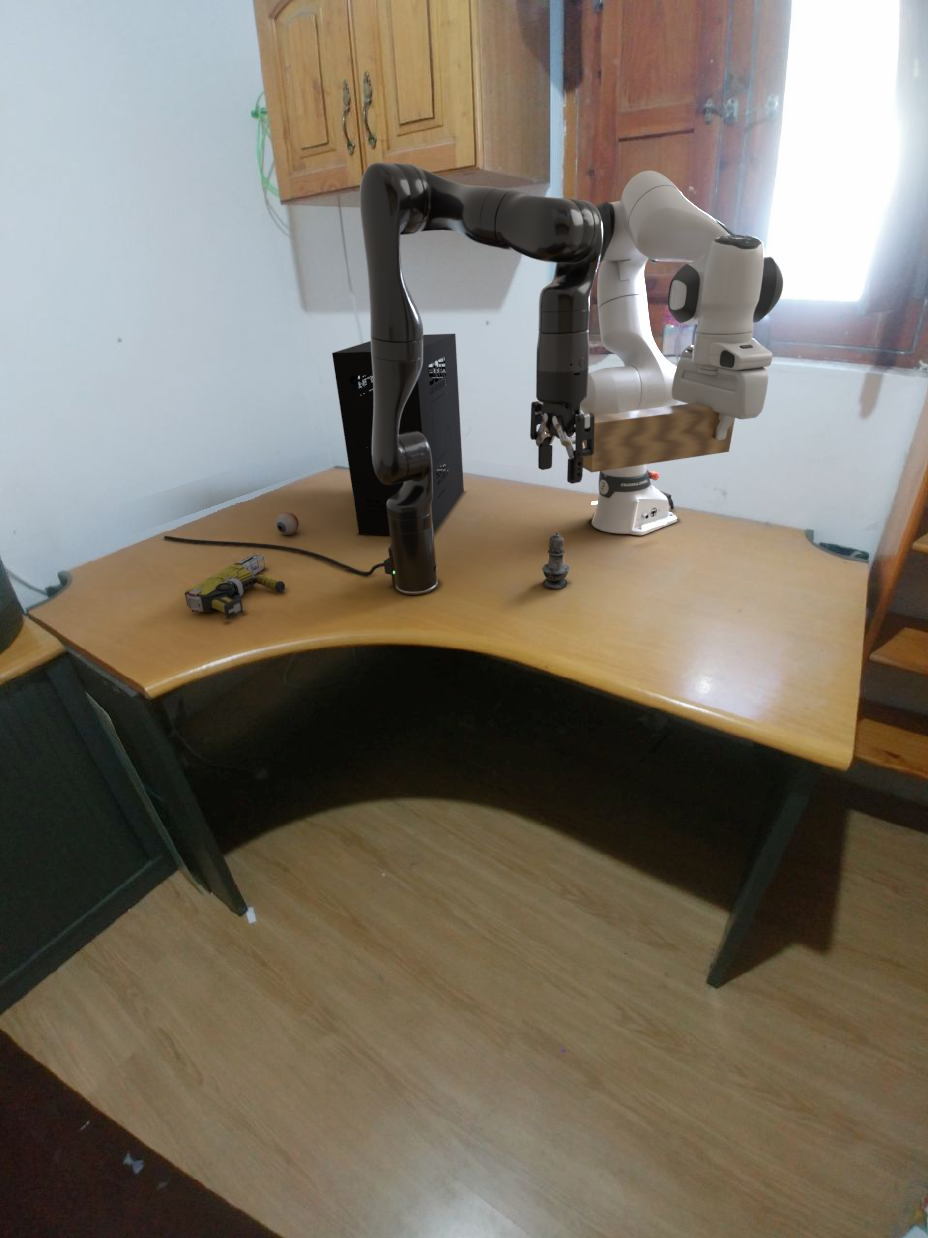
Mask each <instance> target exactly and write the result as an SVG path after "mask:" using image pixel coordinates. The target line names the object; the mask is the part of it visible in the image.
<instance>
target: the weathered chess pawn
mask: <svg viewBox="0 0 928 1238" xmlns="http://www.w3.org/2000/svg"><path fill="white" fill-rule="evenodd" d="M548 547H549V549H548V550H547V554H548V562H547V563H545V564H543V566H542V567H541V570H542V573H543V575H544V577H545V578H544V580H543V581H542V584H543V586H545V587H546V588H549V589H563V588H565V587H567V586H568V584H569V583H568V582H569V581H568V580H567V579H565V578H566V577H567V575H568V573H569V571H570V565H568V564H567V563H564V555H565V553H566V552H565V550H564V538H563V536H562V535H560V534H559V532H558V531H557V530H556V531H555V533H554V534H553V535H552V536H550V537H549V546H548Z"/></svg>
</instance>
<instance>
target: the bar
mask: <svg viewBox="0 0 928 1238" xmlns="http://www.w3.org/2000/svg"><path fill="white" fill-rule="evenodd" d="M719 414H720V413H717V412H714V411H713V410H712V408H711V407H707V406H704V405H701V404H697V403H691V404H688V403H684V404H683V403H682V404H676V405H675V406H667V407H659V408H651V409H643V410H635V411H627V412H619V413H612V414H604V415H596V416H595V423H594V454H593V455H591V456H586V457H584V459H583V469H584V470H587V471H588V472H589V473H597V472H600V471H605V470H612V469H618V468H625V467H631V466H638V465H645V464H647V465H650V464H651V465H652V464H656V463H664V462H669V461H678V460H683V459H691V458H698V457H703V456H709V455H710V456H711V455H716V454H717V455H718V454H723V453H724V454H725V453H729V452H730V447H731V444H732V443H731V442H732V437H733V433H734V432H733V431H734V425H735V420H736V418H735V419H734V421H733V422H732V424H731V425H730V427H729V428H728V429H727V434H726V438H725V439H723V440H717V439H714V438H713V437H712V435H713V429H714V428H717V427H718V425H719V423H720V421H721V420H719ZM583 443H584V446H585V448H587V440H584V441H583Z"/></svg>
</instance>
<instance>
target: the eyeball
mask: <svg viewBox="0 0 928 1238" xmlns="http://www.w3.org/2000/svg"><path fill="white" fill-rule="evenodd" d="M299 525H300V522H299V519H298V517H297V516H296V515H295V514H294V513H292V512H287V511H286V512H282V513H280V514H279V515H278V516H277V517H276V520H275V527H276V529H277V530H278V531H279V532H280V533H281V534H282V535H285V536H286V535H287V536H289V535H293V534H295V533H296V532H297V531H298V529H299Z"/></svg>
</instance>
